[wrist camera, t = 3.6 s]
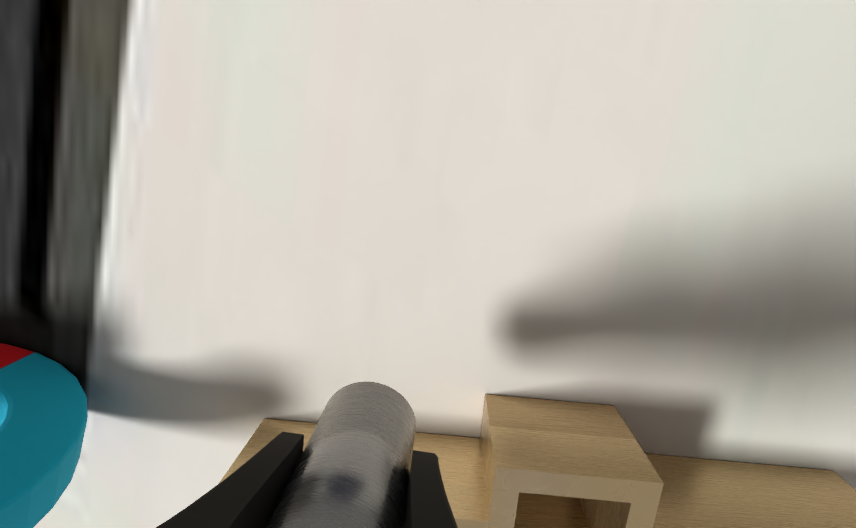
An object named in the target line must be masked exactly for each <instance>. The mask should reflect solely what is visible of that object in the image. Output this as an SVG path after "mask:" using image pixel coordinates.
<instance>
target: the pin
mask: <svg viewBox="0 0 856 528" xmlns="http://www.w3.org/2000/svg"><path fill="white" fill-rule="evenodd" d="M415 430H416V422H415V416H414V413H413V411H412V408H411V407H410V405H409V403H408V402H407V401H406V399H405V398H404V397H403V396H402V395H401V394H399V393H398V392H397V391H395V390H394V389H392V388H390V387H388V386H386V385H383V384H380V383H375V382H358V383H353V384H350V385H348V386H345V387H343V388H342V389H340V390H339V391H337V392H336V393H335V394H334V395H333V396H332V397H331V398H330V400H329V401H328V403H327V405H326V407H325V409H324V411H323V413H322V415H321V417H320V419H319V421H318V423H317V425H316V427H315V429H314V431H313V433H312V435H311V437H310V439H309V441H308V443H307V445H306V447H305V449H304V451H303V453H302V455H301V457H300V459H299V461H298V463H297V465H296V467H295V469H294V471H293V473H292V475H291V477H290V479H289V481H288V483H287V485H286V487H285V489H284V491H283V493H282V495H281V497H280V499H279V501H278V503H277V506H276V508H275V510H274V512H273V514H272V516H271V518H270V520H269V522H268V524H267V526H266V528H403V523H404V515H405V507H406V498H407V490H408V483H409V475H410V468H411V460H412V453H413V445H414V438H415Z"/></svg>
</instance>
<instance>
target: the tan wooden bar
mask: <svg viewBox="0 0 856 528" xmlns="http://www.w3.org/2000/svg"><path fill="white" fill-rule="evenodd" d="M316 425H317V423H307V422H296V421H285V420H274V419H264V420H263V421H262V423H261V424H260V425H259V427H258V428H257V430H256V431H255V433H254V434H253V435H252V437H251V438H250V440H249V441H248V443H247V444H246V446H245V447H244V448H243V450H242V451H241V453H240V454H239V456H238V457H237V458H236V460H235V461H234V463H233V464H232V466H231V467H230V468H229V470H228V471H227V473H226V474H225V476H224V477H223V479H222V480H221V481H220V483H221V482H222V481H223V480H224V479H226V478H227V477H228V476H229V475H231V474H232V473H233V472H234V471H236V470H237V469H238V468H239V467H241V466H242V465H243V464H244V463H246V462H247V461H248V460H249V459H250V458H252V457H253V456H254V455H255V454H256V453H257V452H259V451H260V450H261V449H262V448H263V447H264V446H266V445H267V444H268V443H269V442H270V441H271V440H273V439H274V438H275V437H276V436H277V435H278V434H280V433H281V432H289V433H296V434H303V435H304V445H303V451H304V449H305V447H306V445H307V443H308V441H309V439H310V437H311V435H312V433H313V431H314V429H315V427H316ZM413 450H416V451H423V452H430V453H435V454H436V455H437V457H438V461H439V468H440V473H441V477H442V481H443V485H444V488H445V492H446V495H447V498H448V501H449V504H450V507H451V510H452V513H453V516H454V518H455V521H456V524H457V526H458V528H856V490H855V489H854V488H853V487H851V486H850V485H849V484H848V483H847V482H846V481H844V480H843V479H842V478H841V477H840V476H838V475H837V474H836V473H835V472H834V471H831V470H820V469H809V468H798V467H787V466H776V465H765V464H754V463H743V462H733V461H722V460H711V459H700V458H689V457H678V456H667V455H656V454H645V453H644V452H643V450H642V448H641V447H640V445H639V444H638V442H637V441H636V439H635V437H634V436H633V434H632V433H631V431H630V430H629V428H628V427H627V425H626V423H625V422H624V420H623V419H622V417H621V416H620V414H619V412H618V411H617V409H616V408H615V406H613V405H602V404H590V403H579V402H568V401H556V400H545V399H534V398H522V397H511V396H500V395H488V394H485V401H484V409H483V418H482V427H481V436H480V438H471V437H460V436H449V435H438V434H427V433H416V432H415V438H414V445H413Z"/></svg>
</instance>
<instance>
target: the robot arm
mask: <svg viewBox="0 0 856 528" xmlns="http://www.w3.org/2000/svg"><path fill="white" fill-rule="evenodd" d="M303 445H304V435H303V434H296V433H289V432H281V433H280V434H278V435H277V436H276V437H275V438H274V439H273V440H271V441H270V442H269V443H268V444H267V445H266V446H264V447H263V448H262V449H261V450H260V451H259V452H257V453H256V454H255V455H254V456H253V457H252V458H250V459H249V460H248V461H247V462H246V463H244V464H243V465H242V466H241V467H239V468H238V469H237V470H236V471H234V472H233V473H232V474H231V475H229V476H228V477H227V478H226V479H224V480H223V481H222V482H221V483H219V484H218V485H217V486H215V487H214V488H213V489H211V490H210V491H209V492H207V493H206V494H205V495H203V496H202V497H200V498H199V499H198V500H196V501H195V502H194V503H192V504H191V505H190V506H188V507H187V508H185V509H184V510H182V511H181V512H179V513H178V514H176V515H175V516H173V517H172V518H170V519H169V520H167V521H166V522H164V523H163V524H161V525H159V526H158V527H156V528H266V526H267V524H268V522H269V520H270V518H271V516H272V514H273V512H274V510H275V508H276V506H277V503H278V501H279V499H280V497H281V495H282V493H283V491H284V489H285V487H286V485H287V483H288V481H289V479H290V477H291V475H292V473H293V471H294V469H295V467H296V465H297V463H298V461H299V459H300V457H301V455H302V453H303ZM403 528H458V526H457V524H456V521H455V518H454V516H453V513H452V510H451V507H450V504H449V501H448V498H447V495H446V492H445V488H444V485H443V481H442V477H441V473H440V468H439V461H438V457H437V455H436V454H435V453H430V452H423V451H416V450H413V453H412V460H411V468H410V475H409V483H408V490H407V498H406V507H405V515H404V523H403Z"/></svg>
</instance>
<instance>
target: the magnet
mask: <svg viewBox="0 0 856 528" xmlns="http://www.w3.org/2000/svg"><path fill="white" fill-rule="evenodd" d="M87 417H88V416H87V397H86V395H85V393H84V391H83V389H82V387H81V385H80V383H79V382H78V380H77V378H76V377H75V376H74V375H73V374H71V373H70V372H69V371H68V370H67V369H66V368H64V367H63V366H62V365H61V364H60V363H58V362H56V361H53V360H51V359H49V358H47V357H45V356H43V355H41V354H39V353H37V352H34V351H30V350H26V349H22V348H19V347H15V346H11V345H8V344H2V343H0V528H33V527H34V526H35V525H36V524H37V523H38V522H39V521H40V520H41V519H42V518H43V517H44V516H45V515H46V514H47V513H48V512H49V511H50V510H51V509H52V508H53V506H54V505H55V504H56V502H57V501H58V499H59V498H60V496H61V495H62V493H63V492H64V490H65V489H66V487H67V486H68V485H69V483H70V482H71V479H72V477H73V474H74V471H75V468H76V466H77V463H78V460H79V457H80V452H81V447H82V442H83V437H84V432H85V427H86V422H87Z"/></svg>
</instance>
